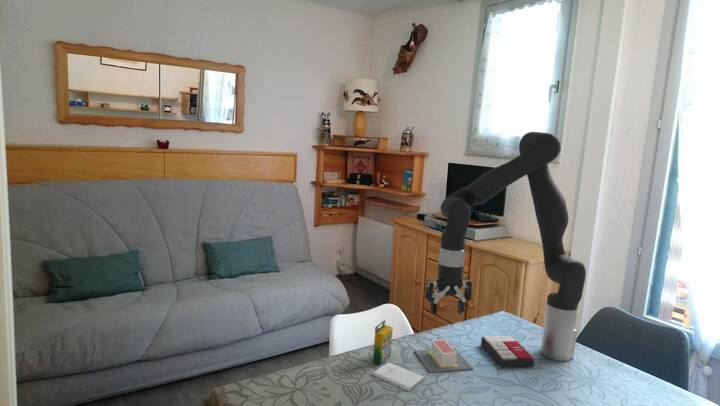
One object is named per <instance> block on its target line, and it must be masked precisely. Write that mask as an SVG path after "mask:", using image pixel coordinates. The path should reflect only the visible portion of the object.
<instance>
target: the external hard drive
mask: <svg viewBox="0 0 720 406" xmlns="http://www.w3.org/2000/svg"><path fill="white" fill-rule="evenodd" d="M372 375H373V376H374V377H377V378H379V379H381V380H382V381H383V380H384V381H386V382H388V383H390V384H391V385H394V386H397V387H398V388H399V387H400V388H401V389H404V390H406V391H408V392H412V391H413V390H414V389H415V388H417V386H419V385H420V384H421V383H423V382H424V381H426V378H425V376H423V375H421V374H418V373H417V372H414V371H411V370H408V369H406V368H404V367H401V366H399V365H395V364H394V363H392V362H386V363H385V364H383V365H382V366H380V367H379V368H378V369H376V370H375V371H373V374H372Z"/></svg>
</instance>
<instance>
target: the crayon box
mask: <svg viewBox="0 0 720 406" xmlns="http://www.w3.org/2000/svg"><path fill="white" fill-rule="evenodd" d="M393 328H394V327H393V326H389V325H386V319H384V320H383V321H381V322H380V323H379V324H377V325H376V326H375V327H374V341H373V342H374V343H373V351H372V352H373V355H372V364H375V365H379V366H381V365H382V364H383V363H385V361H387V360H388V358H390V357H391V352H392V340H393V330H394V329H393Z"/></svg>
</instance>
